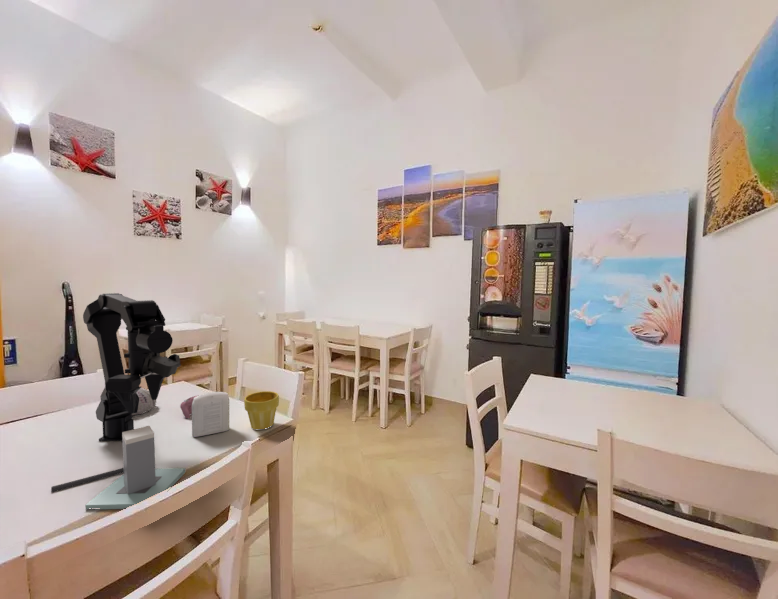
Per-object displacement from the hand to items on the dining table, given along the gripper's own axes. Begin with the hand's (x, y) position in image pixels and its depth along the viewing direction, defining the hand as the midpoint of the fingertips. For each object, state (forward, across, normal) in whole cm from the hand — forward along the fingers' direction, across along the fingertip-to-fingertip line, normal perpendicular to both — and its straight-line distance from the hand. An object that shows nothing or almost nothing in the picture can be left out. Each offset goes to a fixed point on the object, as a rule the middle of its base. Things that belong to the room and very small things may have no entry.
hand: (143, 405), depth 91 cm
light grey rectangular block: (+12, -16, -9) cm, 22 cm away
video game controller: (+13, +27, -1) cm, 30 cm away
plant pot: (+13, +16, -26) cm, 33 cm away
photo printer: (+13, +12, -12) cm, 22 cm away
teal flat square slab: (+13, -16, -9) cm, 22 cm away
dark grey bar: (+13, -12, +4) cm, 18 cm away
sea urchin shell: (+13, +29, +22) cm, 39 cm away
